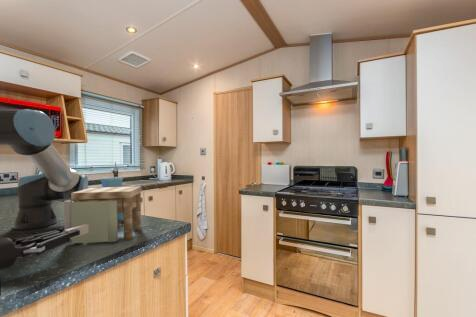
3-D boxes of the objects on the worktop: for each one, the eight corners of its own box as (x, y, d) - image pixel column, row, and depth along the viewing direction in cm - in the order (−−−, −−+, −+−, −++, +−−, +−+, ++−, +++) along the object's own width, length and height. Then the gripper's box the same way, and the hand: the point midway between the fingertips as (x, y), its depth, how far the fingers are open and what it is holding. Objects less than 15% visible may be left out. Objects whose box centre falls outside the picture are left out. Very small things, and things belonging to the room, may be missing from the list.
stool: (72, 243, 83) (71, 193, 83) (92, 230, 97) (91, 187, 97) (131, 240, 85) (130, 191, 85) (142, 228, 99) (141, 186, 99)
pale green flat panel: (62, 245, 79) (61, 202, 79) (68, 242, 82) (67, 200, 82) (115, 243, 81) (114, 200, 81) (119, 240, 84) (118, 198, 84)
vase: (100, 220, 113) (99, 179, 113) (117, 216, 119) (116, 177, 119) (108, 222, 108) (107, 179, 108) (124, 218, 115) (124, 178, 114)
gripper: (-26, 269, 57) (74, 237, 79) (2, 279, 52) (100, 242, 74) (-27, 238, 57) (73, 215, 79) (2, 245, 52) (100, 218, 74)
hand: (86, 228), depth 76 cm, fingers closed
